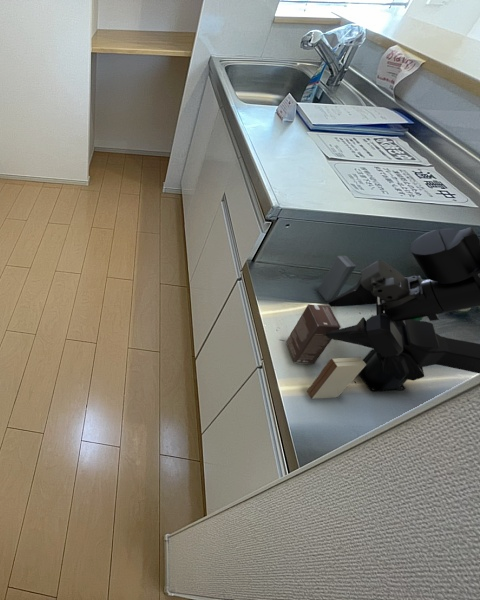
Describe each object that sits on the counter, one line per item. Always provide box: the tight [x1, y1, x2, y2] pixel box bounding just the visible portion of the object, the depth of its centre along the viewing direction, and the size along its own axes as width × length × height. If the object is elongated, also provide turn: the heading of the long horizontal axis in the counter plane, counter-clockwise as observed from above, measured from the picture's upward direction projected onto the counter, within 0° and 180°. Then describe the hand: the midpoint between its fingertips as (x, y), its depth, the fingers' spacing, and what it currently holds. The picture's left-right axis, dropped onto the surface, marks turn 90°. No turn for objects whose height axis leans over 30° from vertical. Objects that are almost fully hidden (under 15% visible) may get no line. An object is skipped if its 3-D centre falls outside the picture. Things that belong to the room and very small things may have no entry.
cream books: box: [306, 356, 366, 400], centre depth 64 cm, size 2×5×11 cm, turn 91°
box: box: [285, 303, 342, 365], centre depth 71 cm, size 6×4×12 cm
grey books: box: [317, 255, 356, 302], centre depth 83 cm, size 4×2×11 cm, turn 1°
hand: (327, 319), depth 67 cm, fingers open, 9 cm apart
